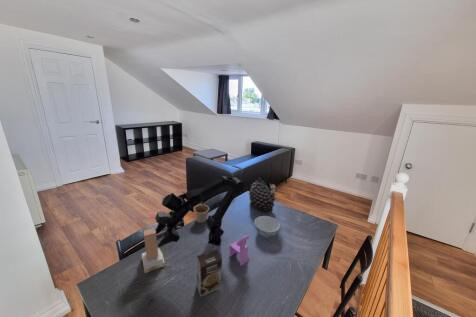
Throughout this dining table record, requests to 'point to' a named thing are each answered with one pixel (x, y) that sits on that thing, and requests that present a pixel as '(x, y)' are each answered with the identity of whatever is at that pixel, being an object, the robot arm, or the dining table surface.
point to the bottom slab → (155, 266)
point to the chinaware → (267, 226)
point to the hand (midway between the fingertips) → (156, 240)
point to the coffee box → (209, 272)
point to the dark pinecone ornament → (262, 196)
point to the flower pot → (201, 213)
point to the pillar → (151, 243)
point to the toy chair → (240, 249)
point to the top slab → (152, 260)
